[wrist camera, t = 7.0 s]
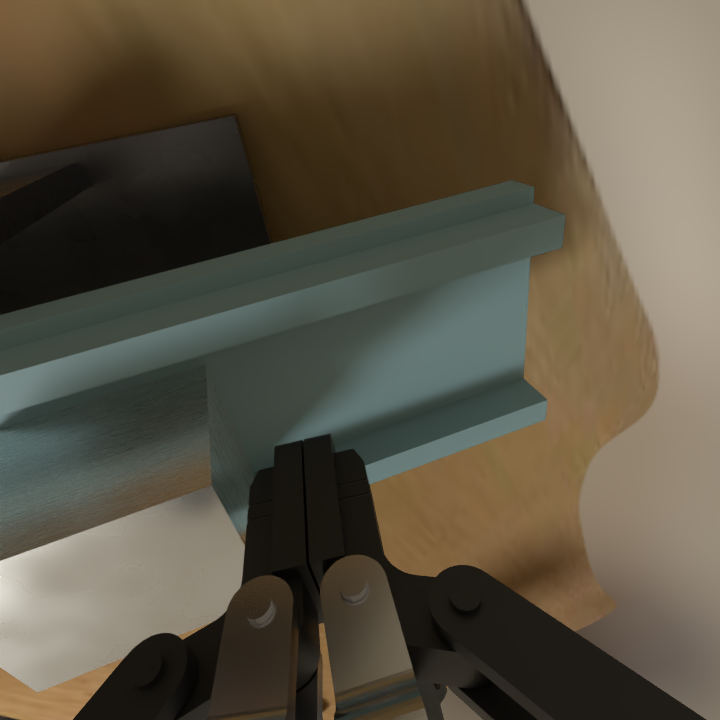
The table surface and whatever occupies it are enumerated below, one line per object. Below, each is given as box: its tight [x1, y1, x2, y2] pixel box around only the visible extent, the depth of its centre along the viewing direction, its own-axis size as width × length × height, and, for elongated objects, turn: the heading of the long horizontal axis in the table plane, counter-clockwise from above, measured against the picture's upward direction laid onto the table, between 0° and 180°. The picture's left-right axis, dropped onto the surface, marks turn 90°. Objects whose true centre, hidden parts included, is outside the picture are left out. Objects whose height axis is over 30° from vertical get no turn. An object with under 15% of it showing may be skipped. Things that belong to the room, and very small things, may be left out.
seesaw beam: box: [0, 180, 566, 484], centre depth 16 cm, size 14×34×9 cm, turn 99°
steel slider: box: [0, 365, 254, 692], centre depth 12 cm, size 5×6×5 cm
